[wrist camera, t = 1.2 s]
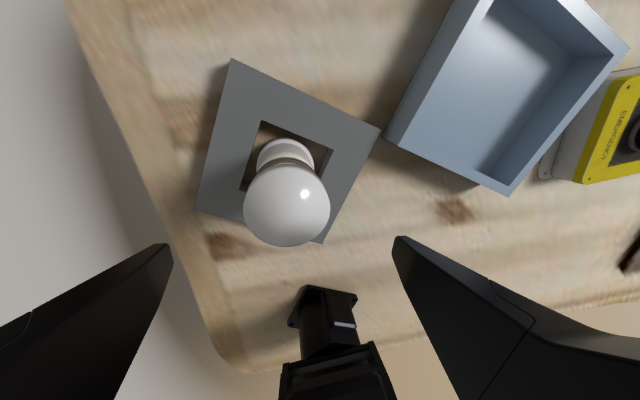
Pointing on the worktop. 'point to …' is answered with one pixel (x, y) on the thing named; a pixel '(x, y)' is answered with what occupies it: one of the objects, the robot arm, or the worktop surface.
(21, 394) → the robot arm
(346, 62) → the worktop surface
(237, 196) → the grey square frame
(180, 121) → the worktop surface
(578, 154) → the emergency button
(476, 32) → the parts tray
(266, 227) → the frosted globe bulb
